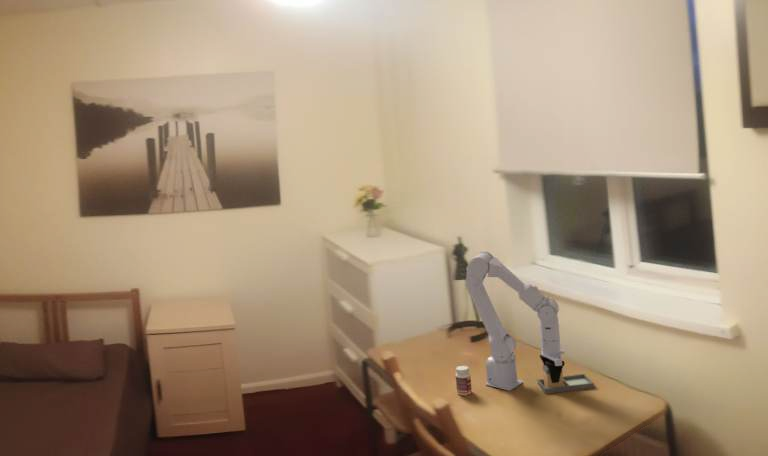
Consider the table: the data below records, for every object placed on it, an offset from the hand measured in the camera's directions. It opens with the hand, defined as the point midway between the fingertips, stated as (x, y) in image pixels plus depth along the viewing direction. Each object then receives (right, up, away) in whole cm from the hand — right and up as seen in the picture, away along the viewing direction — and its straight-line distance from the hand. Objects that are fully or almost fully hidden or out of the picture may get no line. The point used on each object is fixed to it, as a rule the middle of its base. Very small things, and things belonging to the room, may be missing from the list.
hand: (553, 379), depth 204 cm
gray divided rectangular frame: (+4, -2, +1) cm, 5 cm away
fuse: (0, -3, 0) cm, 3 cm away
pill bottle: (-28, -5, +4) cm, 28 cm away
